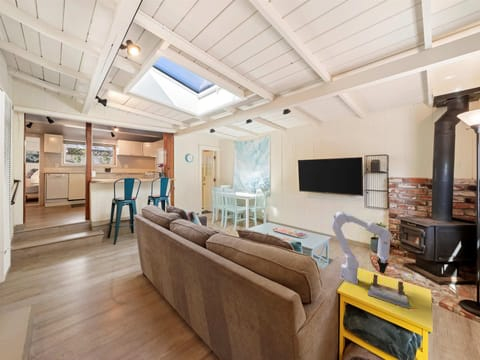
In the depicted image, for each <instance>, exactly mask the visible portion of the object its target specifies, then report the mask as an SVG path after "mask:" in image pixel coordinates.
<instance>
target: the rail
mask: <svg viewBox="0 0 480 360" xmlns="http://www.w3.org/2000/svg"><path fill="white" fill-rule="evenodd" d="M370 288H371V291H370V293H372V294H375V295H378V296H381V297H384V298H387V299H390V300H393V301H397V302H400V303H403V304H406V305H407V300H408V296H406V295H405V296H404V295H400V294H397V293H394V292H391V291H387V290H384V289H381V288H378V287H374V286H371V285H370Z"/></svg>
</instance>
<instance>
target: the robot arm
mask: <svg viewBox="0 0 480 360" xmlns="http://www.w3.org/2000/svg"><path fill="white" fill-rule="evenodd" d="M346 223H347V224H348V223H353V224H356V225H358V226H361V227H363V228H365V231H367V232H370V233H371V234H374V235H376V236H378V240H377V241H378V242H377V252H376V253H377V254H376V256H377V259H376V263H377V264H378V269H379V273H382V274H385V272H386V269H387V268H388V266H389V262H387V261H388V260H389V259H392V256H390V247H391V239H392V238H393V235H392V234H393V233H392V232H391V231H390V230H389V229H387V228H386V227H384V226H380V225H378V224H376V222H373V221H372V222H371V221H369V222H366V221H364V220H363V219H360V218H358V217H356V216H354V215H352V214H349V213H347V212H344V211H341V210H339V211H336V213H335V214H334V215H333V220H332V225H331V227H332V231H333V232H334V235H335V236H336V238H337V242H338V243H339V246H340V247H341V250H342V252H343V254H344V256H345V258H344V259H345V260H346V262H345V263H341V268H340V276H339V277H340V278H339V279H340V280H342V281H345V282H348V283H351V284H354V285H358V281H359V278H358V273H359V272H358V270H359V260H358V259H357V257H356V255H355V254H354V253H353V251H352V250H351V248H350V245H349V244H348V241H347V239H346V237H345V234H344V233H343V231H342V227H343V226H344V224H346Z"/></svg>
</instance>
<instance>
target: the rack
mask: <svg viewBox="0 0 480 360" xmlns="http://www.w3.org/2000/svg"><path fill="white" fill-rule="evenodd" d="M372 279H373V280H372V281H371V282H370V287H371V286H374V287H378V288H381V289H384V290H387V291H391V292H394V293H397V294H400V295H404V296H406V293H405V291H404V289H405V288H404V282H403V281H400V280H398V282H397V283H398V284H397V288H393V287H391V286H387V285H383V284H381V283H378V274H373V277H372Z"/></svg>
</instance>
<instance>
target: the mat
mask: <svg viewBox="0 0 480 360" xmlns="http://www.w3.org/2000/svg"><path fill="white" fill-rule="evenodd" d="M370 291H371V287H368V291H367V296H369V297H372V298H375V299H379V300H381V301H384V302H387V303H390V304H394V305H396V306H399V307H402V308H406V309H408V310H410V309H411V308H410V304H409V299H407V305H406V304H403V303H400V302H397V301H393V300H390V299H387V298H384V297H381V296H378V295H375V294H372V293H370Z"/></svg>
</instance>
